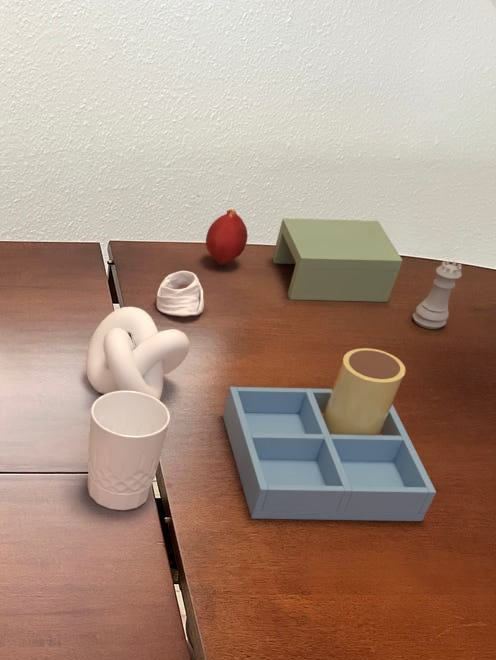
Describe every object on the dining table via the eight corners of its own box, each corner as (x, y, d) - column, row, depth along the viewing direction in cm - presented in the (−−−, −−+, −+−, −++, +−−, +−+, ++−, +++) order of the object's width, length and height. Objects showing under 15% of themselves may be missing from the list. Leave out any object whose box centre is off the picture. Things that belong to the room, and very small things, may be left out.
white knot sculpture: (173, 430, 104) (187, 362, 97) (72, 413, 105) (79, 345, 98) (183, 377, 111) (196, 310, 104) (88, 362, 112) (96, 295, 105)
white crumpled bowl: (204, 329, 120) (215, 297, 116) (155, 323, 120) (164, 290, 116) (199, 296, 125) (209, 264, 121) (152, 289, 124) (161, 257, 120)
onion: (212, 250, 133) (224, 195, 127) (247, 262, 131) (260, 207, 125) (194, 265, 130) (205, 209, 124) (229, 277, 128) (242, 221, 122)
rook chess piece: (433, 333, 120) (458, 277, 114) (405, 320, 122) (427, 263, 116) (451, 323, 122) (476, 266, 116) (422, 309, 124) (445, 253, 118)
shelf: (364, 261, 133) (378, 220, 128) (387, 302, 125) (403, 260, 120) (272, 258, 132) (282, 218, 128) (289, 299, 124) (301, 258, 120)
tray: (374, 418, 107) (385, 389, 103) (422, 521, 95) (436, 492, 92) (222, 415, 106) (229, 386, 103) (251, 518, 94) (260, 489, 91)
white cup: (115, 458, 100) (126, 381, 92) (169, 492, 96) (186, 414, 89) (67, 489, 96) (74, 410, 88) (121, 525, 92) (134, 447, 85)
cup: (367, 417, 105) (395, 347, 98) (383, 451, 100) (414, 382, 93) (312, 416, 104) (336, 346, 97) (326, 451, 100) (352, 380, 93)
